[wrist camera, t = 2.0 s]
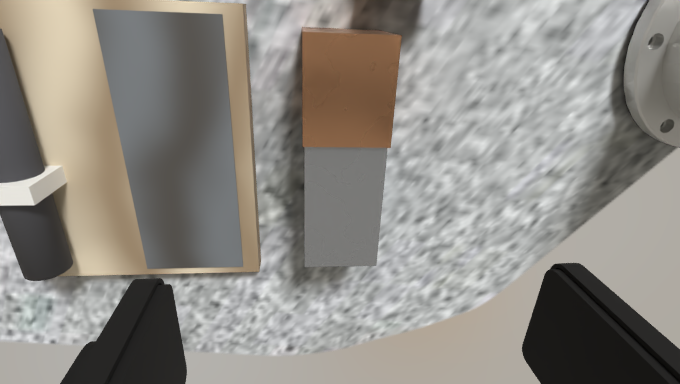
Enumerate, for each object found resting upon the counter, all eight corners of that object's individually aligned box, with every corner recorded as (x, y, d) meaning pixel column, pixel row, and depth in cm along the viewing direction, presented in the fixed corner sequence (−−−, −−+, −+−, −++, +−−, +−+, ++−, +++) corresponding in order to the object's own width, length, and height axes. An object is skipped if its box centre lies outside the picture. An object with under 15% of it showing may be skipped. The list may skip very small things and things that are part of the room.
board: (246, 4, 20) (242, 3, 19) (260, 261, 27) (259, 272, 25) (-51, -9, 18) (-75, -10, 17) (44, 265, 25) (32, 277, 24)
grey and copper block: (379, 30, 21) (401, 35, 16) (364, 221, 26) (378, 267, 21) (302, 27, 21) (302, 31, 16) (302, 222, 26) (302, 269, 21)
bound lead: (29, 28, 19) (-24, 31, 16) (92, 251, 24) (61, 285, 21) (-42, 25, 18) (-110, 28, 15) (37, 252, 24) (-1, 287, 21)
